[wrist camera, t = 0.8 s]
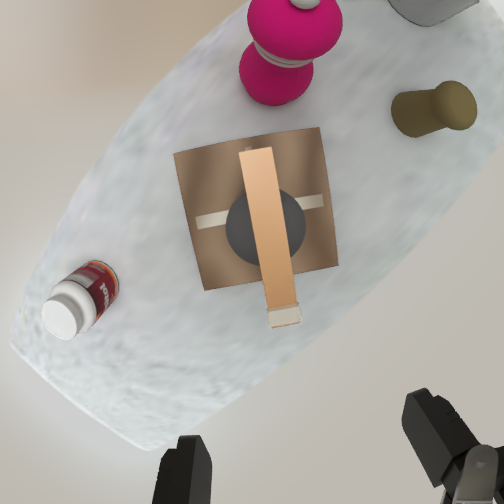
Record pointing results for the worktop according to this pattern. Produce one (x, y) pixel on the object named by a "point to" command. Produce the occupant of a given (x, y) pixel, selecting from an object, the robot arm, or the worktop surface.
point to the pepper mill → (286, 46)
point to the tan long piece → (268, 233)
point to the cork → (434, 109)
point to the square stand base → (232, 185)
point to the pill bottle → (79, 300)
